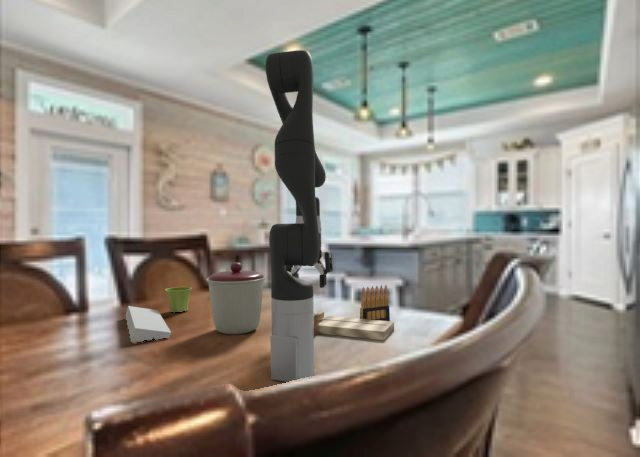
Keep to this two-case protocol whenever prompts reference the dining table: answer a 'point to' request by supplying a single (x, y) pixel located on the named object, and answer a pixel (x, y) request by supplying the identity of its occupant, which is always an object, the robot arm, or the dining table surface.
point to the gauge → (317, 322)
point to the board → (355, 327)
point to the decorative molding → (146, 324)
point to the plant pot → (178, 298)
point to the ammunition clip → (375, 304)
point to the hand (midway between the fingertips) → (309, 286)
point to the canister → (236, 299)
